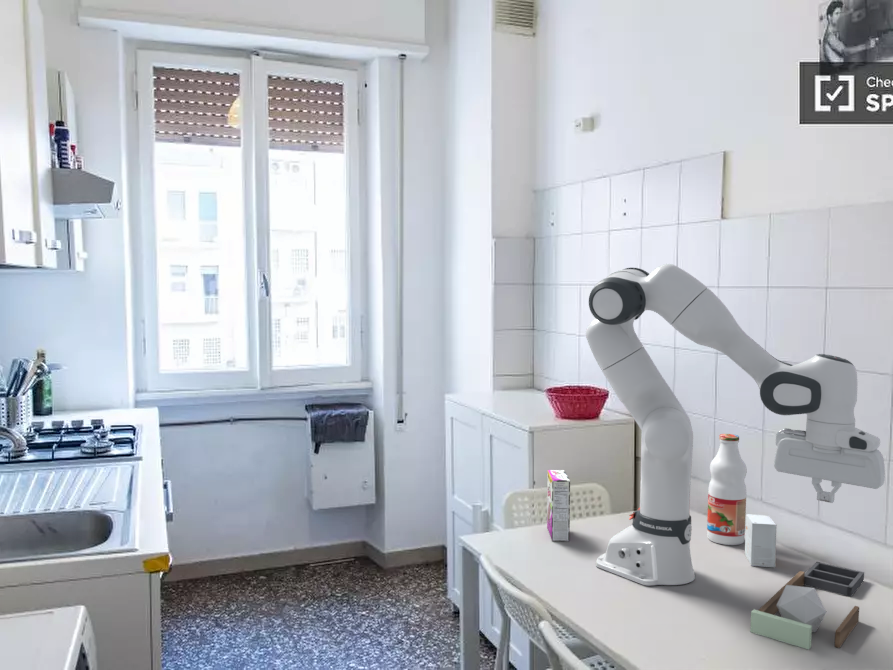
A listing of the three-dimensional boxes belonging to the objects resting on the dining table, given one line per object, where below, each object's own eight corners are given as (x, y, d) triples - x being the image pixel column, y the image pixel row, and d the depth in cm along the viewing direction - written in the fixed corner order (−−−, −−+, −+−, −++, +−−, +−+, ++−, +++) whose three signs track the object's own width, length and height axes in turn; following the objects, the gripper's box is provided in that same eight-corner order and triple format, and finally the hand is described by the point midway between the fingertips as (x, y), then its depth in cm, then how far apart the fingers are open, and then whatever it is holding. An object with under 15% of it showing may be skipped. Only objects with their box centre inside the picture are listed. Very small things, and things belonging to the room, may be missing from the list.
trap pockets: (801, 584, 168) (802, 575, 168) (816, 569, 177) (816, 561, 177) (851, 596, 161) (851, 587, 161) (863, 580, 170) (864, 572, 170)
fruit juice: (751, 545, 194) (755, 438, 192) (718, 546, 192) (722, 439, 190) (732, 533, 203) (736, 431, 201) (700, 534, 201) (703, 432, 200)
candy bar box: (545, 528, 206) (546, 469, 205) (563, 528, 206) (565, 469, 205) (550, 541, 194) (552, 479, 193) (569, 542, 194) (571, 480, 193)
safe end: (750, 631, 144) (751, 611, 144) (752, 629, 145) (753, 609, 145) (808, 649, 137) (809, 628, 137) (810, 646, 138) (811, 625, 138)
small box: (775, 568, 178) (777, 524, 177) (750, 566, 179) (752, 523, 178) (768, 556, 186) (769, 515, 185) (744, 554, 187) (745, 513, 186)
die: (811, 645, 140) (840, 603, 141) (769, 614, 144) (797, 573, 145) (804, 642, 148) (831, 602, 149) (764, 613, 151) (790, 574, 152)
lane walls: (751, 631, 144) (751, 616, 144) (799, 583, 168) (799, 570, 168) (833, 655, 135) (834, 639, 135) (872, 602, 159) (873, 588, 159)
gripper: (771, 428, 157) (767, 493, 158) (882, 444, 143) (877, 515, 144) (781, 425, 161) (777, 488, 162) (889, 440, 148) (884, 508, 149)
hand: (825, 501), depth 153 cm, fingers closed
